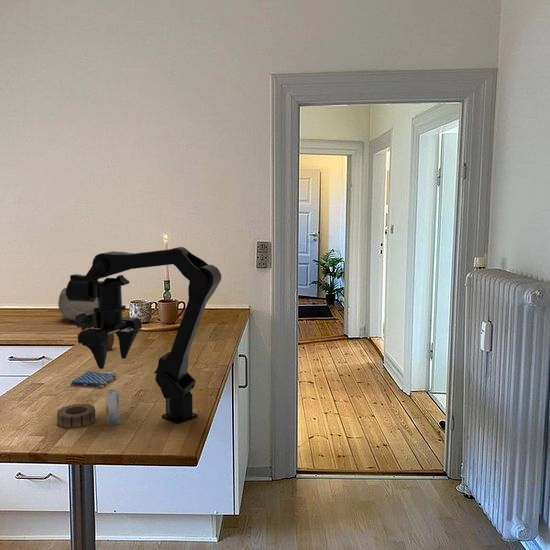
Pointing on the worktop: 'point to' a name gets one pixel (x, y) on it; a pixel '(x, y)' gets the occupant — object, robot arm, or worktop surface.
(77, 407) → the walnut gear
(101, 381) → the woven mat
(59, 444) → the worktop surface
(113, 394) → the grey cylinder
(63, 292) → the clay pot
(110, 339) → the wooden figurine
